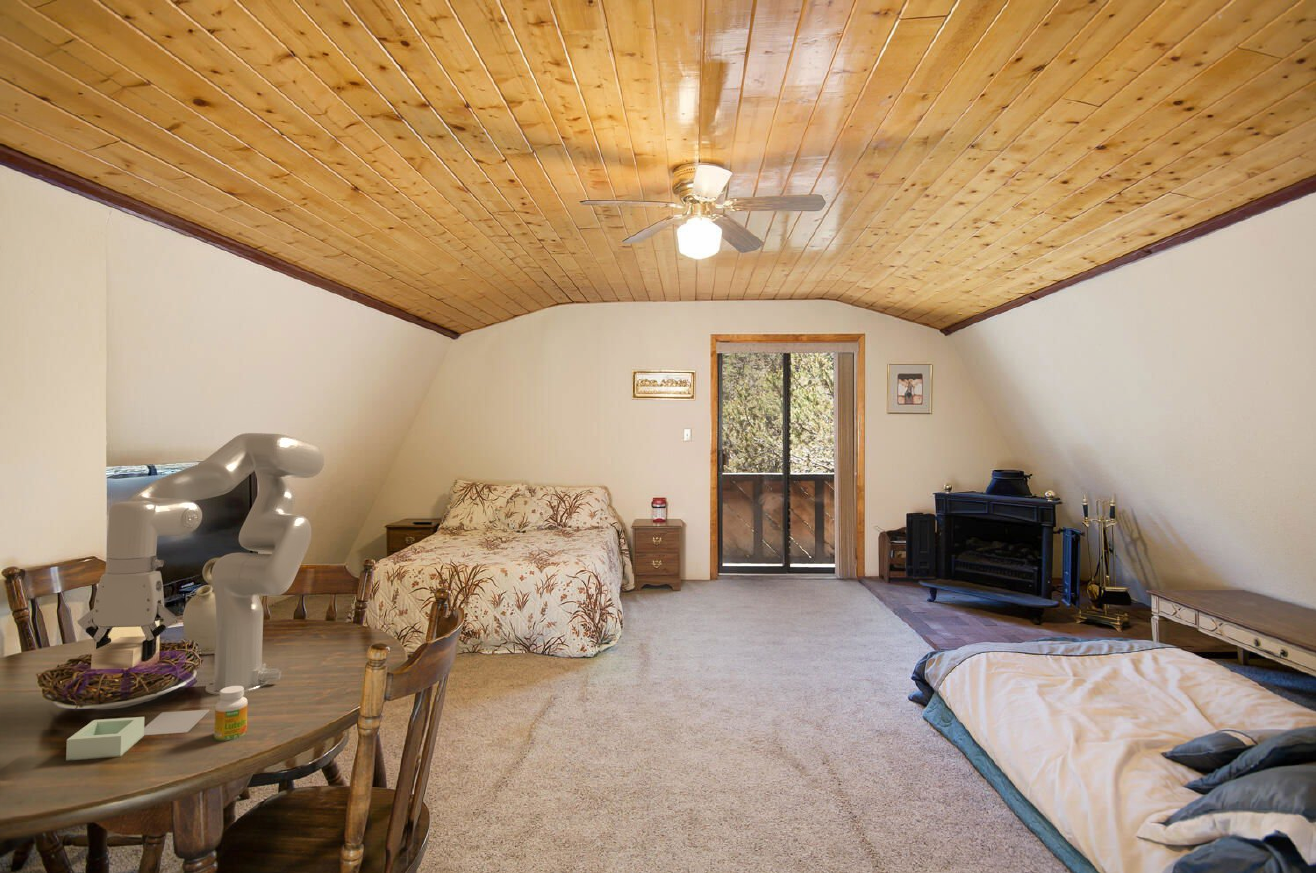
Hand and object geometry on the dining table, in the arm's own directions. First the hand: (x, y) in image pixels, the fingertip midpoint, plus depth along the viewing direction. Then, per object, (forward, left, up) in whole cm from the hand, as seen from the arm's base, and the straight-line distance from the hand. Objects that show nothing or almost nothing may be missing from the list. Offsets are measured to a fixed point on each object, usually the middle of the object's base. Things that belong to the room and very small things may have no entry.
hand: (125, 659), depth 127 cm
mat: (-5, -8, -16) cm, 19 cm away
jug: (+6, -60, -17) cm, 62 cm away
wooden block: (0, 0, 0) cm, 0 cm away
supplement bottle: (-18, 0, -17) cm, 25 cm away
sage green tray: (+2, +2, -16) cm, 17 cm away
